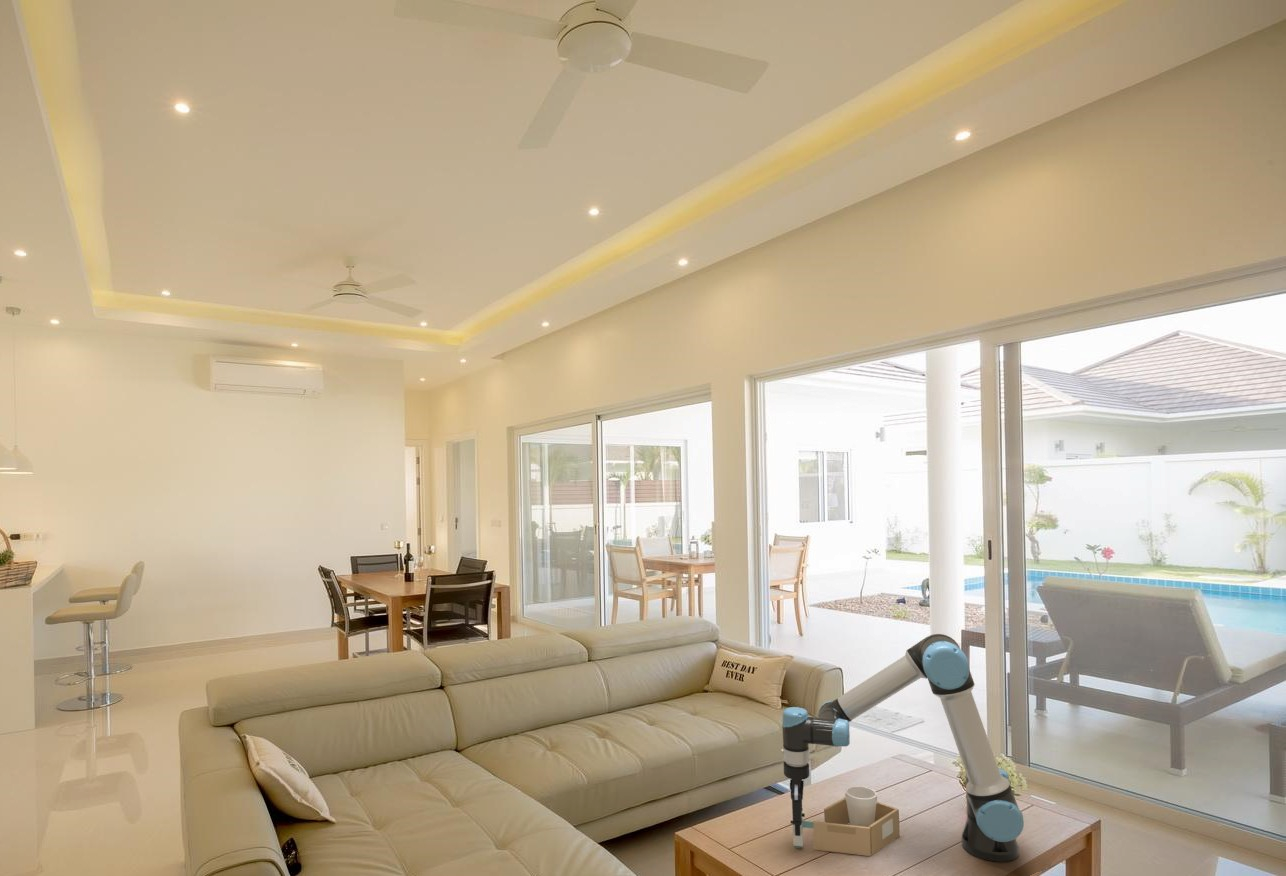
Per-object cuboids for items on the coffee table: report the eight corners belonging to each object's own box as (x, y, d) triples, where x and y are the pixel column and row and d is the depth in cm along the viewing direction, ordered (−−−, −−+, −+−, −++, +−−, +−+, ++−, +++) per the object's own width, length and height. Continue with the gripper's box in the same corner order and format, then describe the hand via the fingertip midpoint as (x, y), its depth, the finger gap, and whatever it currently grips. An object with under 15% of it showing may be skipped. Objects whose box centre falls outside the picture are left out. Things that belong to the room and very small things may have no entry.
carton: (899, 836, 222) (899, 809, 222) (872, 855, 211) (871, 827, 211) (853, 818, 234) (852, 792, 234) (824, 835, 223) (824, 808, 223)
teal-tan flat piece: (870, 853, 212) (869, 815, 212) (870, 857, 209) (869, 818, 210) (794, 844, 217) (793, 807, 218) (794, 848, 215) (793, 810, 216)
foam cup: (843, 839, 220) (841, 795, 221) (849, 825, 229) (848, 783, 229) (875, 846, 216) (874, 801, 217) (880, 832, 224) (879, 789, 225)
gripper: (784, 751, 225) (786, 828, 224) (781, 771, 210) (784, 854, 209) (809, 753, 224) (811, 831, 223) (808, 773, 209) (810, 857, 208)
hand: (798, 842), depth 216 cm, fingers open, 2 cm apart
